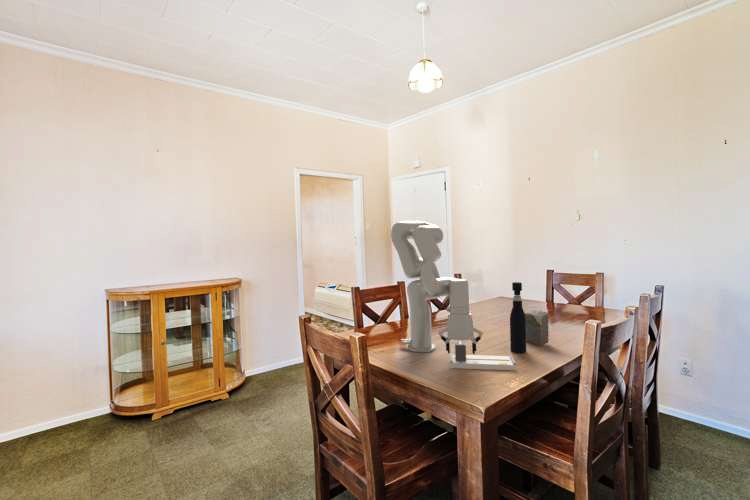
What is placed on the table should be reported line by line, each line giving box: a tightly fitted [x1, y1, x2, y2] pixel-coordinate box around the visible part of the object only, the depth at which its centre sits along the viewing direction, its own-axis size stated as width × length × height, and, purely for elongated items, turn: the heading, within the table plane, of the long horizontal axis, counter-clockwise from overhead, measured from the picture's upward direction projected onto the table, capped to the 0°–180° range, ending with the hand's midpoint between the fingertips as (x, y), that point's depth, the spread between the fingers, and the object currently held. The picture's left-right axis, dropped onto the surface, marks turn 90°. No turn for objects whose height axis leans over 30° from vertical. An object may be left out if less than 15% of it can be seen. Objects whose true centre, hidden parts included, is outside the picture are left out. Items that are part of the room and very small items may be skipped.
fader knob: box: [454, 340, 467, 361], centre depth 144 cm, size 4×6×6 cm, turn 168°
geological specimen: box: [524, 309, 550, 346], centre depth 168 cm, size 11×6×15 cm, turn 25°
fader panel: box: [449, 352, 517, 371], centre depth 142 cm, size 24×10×3 cm, turn 78°
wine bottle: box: [509, 281, 527, 355], centre depth 156 cm, size 6×6×30 cm
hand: (461, 352), depth 144 cm, fingers open, 9 cm apart
